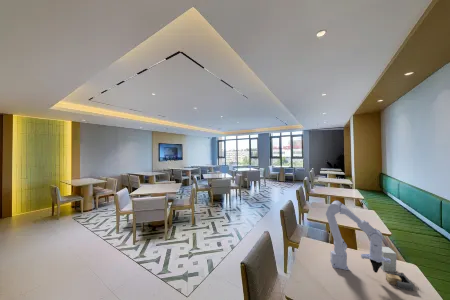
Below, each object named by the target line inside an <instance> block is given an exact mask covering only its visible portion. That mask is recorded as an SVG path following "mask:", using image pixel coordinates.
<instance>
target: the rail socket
mask: <svg viewBox="0 0 450 300" xmlns="http://www.w3.org/2000/svg"><path fill="white" fill-rule="evenodd" d="M389 274H392V275H397V276H399V277H400V278H401V282H399V281H397V285H396V288H398V289H400V290H406V291H411V292H414V289H415V288H414V287H415V286H414V284H413V283H412V282H411V280H410V279H409V278H408V277H407V276H406V275H405V274H404V273H403V272H400V273H396V272H389Z"/></svg>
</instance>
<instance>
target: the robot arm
mask: <svg viewBox="0 0 450 300" xmlns="http://www.w3.org/2000/svg"><path fill="white" fill-rule="evenodd" d="M336 214H339V215H345V216H347V217H348V218H349V219H351V220H352V221H353V222H354V223H356V224H357V227H358V228H359V230H361V231H362V232H364V234H366V235H367V236H369V238H370V240H369V253H361V254H360V258H361V259H363V260H365V259H366V260H369V262H370V263H371V266H372V271H373V273H377V274H378V271H379V270H380V269H381V268H380V267H381V266H382V262H388V263H390V264H391V260H390V259H389V258H385V257H382V247H383V233H382V231H381V230H380V229H377V228H374V227H373V225H371V224H370V222H369V221H366V220H363V219H360V218H359V216H357V215H356V214H355V213H354V212H352V210H350V209H349V208H348V207H347V206H346V205H345V204H344V203H342V202H341V201H340V200H334V201H332V202H331V203H330V204H329V206H327V209H326V213H325V216H326V219H327V222H328V225H329V229H330V231H331V235H332V237H333V247H334V248H333V250H331V251H330V263H331V266H332V268H334V269H340V270H344V271H349V270H350V269H349V266H348V254H347V248H348V245H347V243H346V242H345V240H344V238H343V237H342V234H341V231H340V228H339V224H338V221H337V219H336Z"/></svg>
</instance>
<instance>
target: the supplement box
mask: <svg viewBox="0 0 450 300" xmlns="http://www.w3.org/2000/svg"><path fill="white" fill-rule="evenodd" d="M382 257H385V258H389V259H390V260H391V264H390V263H388V262H382V266H381V267H380V268H379V269H382V271H383V272H389V273H397V253H396V252H395V251H394V250H393V249H392V248H390V247H389V246H382Z"/></svg>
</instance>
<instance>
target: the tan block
mask: <svg viewBox="0 0 450 300" xmlns="http://www.w3.org/2000/svg"><path fill="white" fill-rule="evenodd" d="M385 280H386V282H387V284H390V285H396V286H397V281H399V282H402V281H401V278H400V277H399V276H397V275H392V274H390V273H388V272H387V273H385Z"/></svg>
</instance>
